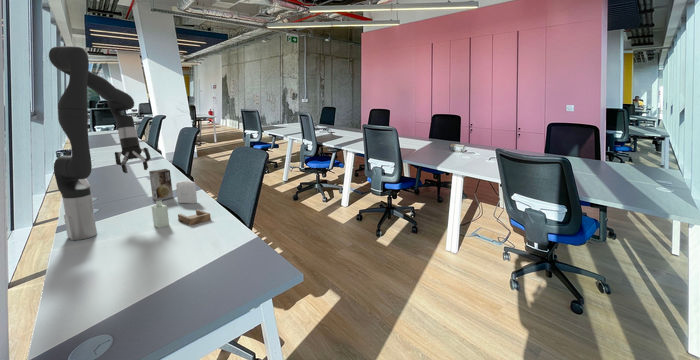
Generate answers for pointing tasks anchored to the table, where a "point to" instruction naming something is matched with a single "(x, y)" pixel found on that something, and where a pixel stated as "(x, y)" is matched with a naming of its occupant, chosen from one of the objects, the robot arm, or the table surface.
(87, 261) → the table surface
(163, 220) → the bottle
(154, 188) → the coffee box
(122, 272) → the table surface
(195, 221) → the rest
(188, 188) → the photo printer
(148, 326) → the table surface
